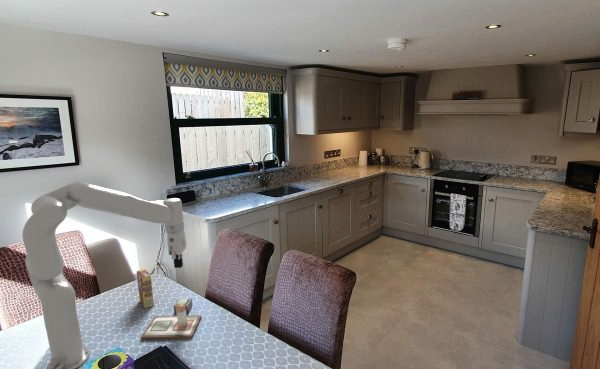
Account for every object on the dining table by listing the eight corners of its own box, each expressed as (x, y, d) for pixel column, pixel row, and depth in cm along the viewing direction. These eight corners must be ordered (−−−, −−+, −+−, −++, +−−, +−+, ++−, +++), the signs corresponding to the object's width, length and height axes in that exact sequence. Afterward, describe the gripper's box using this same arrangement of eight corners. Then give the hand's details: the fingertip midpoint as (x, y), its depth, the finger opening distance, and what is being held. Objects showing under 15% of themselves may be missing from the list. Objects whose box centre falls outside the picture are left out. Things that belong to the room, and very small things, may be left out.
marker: (186, 327, 142) (183, 307, 140) (177, 328, 141) (174, 308, 139) (188, 321, 145) (185, 302, 143) (179, 322, 145) (176, 303, 143)
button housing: (188, 313, 154) (187, 305, 154) (174, 313, 154) (173, 306, 154) (192, 305, 160) (191, 298, 160) (178, 305, 160) (178, 298, 160)
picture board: (191, 338, 137) (191, 335, 136) (140, 340, 137) (140, 336, 136) (201, 317, 150) (201, 314, 150) (155, 318, 150) (154, 316, 150)
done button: (186, 308, 155) (185, 303, 154) (177, 308, 155) (176, 303, 154) (189, 303, 159) (188, 298, 158) (180, 303, 159) (179, 298, 158)
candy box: (154, 305, 161) (151, 275, 158) (145, 308, 158) (141, 278, 155) (149, 297, 168) (145, 268, 165) (139, 300, 165) (135, 271, 162)
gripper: (177, 233, 142) (181, 274, 145) (188, 221, 156) (192, 259, 160) (159, 233, 142) (163, 275, 145) (172, 221, 156) (176, 260, 160)
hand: (178, 266), depth 153 cm, fingers closed
